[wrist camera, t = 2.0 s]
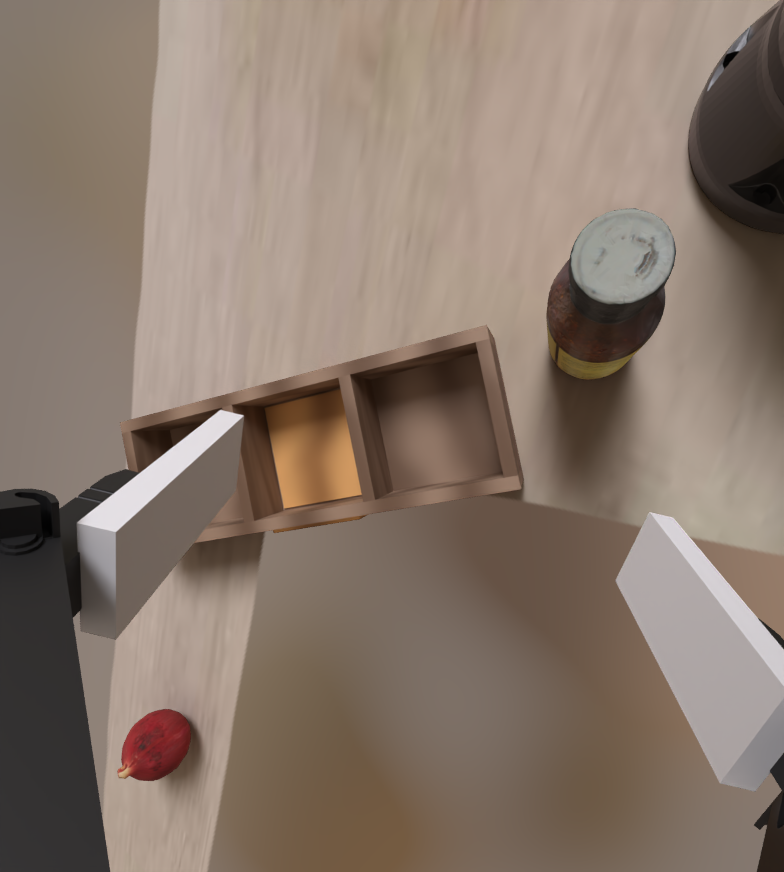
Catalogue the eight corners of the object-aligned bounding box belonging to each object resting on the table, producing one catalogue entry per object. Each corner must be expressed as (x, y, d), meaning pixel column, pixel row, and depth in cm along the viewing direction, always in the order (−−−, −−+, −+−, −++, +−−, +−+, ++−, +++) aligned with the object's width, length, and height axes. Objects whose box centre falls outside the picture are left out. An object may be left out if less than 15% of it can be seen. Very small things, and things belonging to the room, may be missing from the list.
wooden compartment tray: (494, 338, 41) (486, 325, 35) (524, 484, 41) (522, 494, 35) (167, 422, 51) (119, 422, 45) (189, 540, 50) (144, 555, 45)
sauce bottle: (649, 350, 38) (759, 278, 19) (576, 396, 39) (610, 375, 20) (598, 282, 39) (653, 149, 20) (529, 331, 40) (519, 251, 21)
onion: (176, 682, 52) (112, 728, 44) (216, 719, 50) (158, 772, 43) (153, 723, 53) (87, 775, 45) (191, 760, 51) (130, 820, 44)
